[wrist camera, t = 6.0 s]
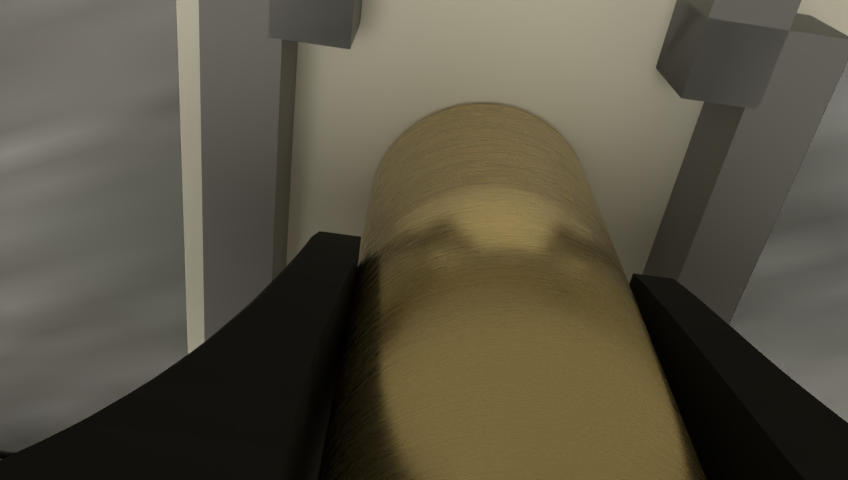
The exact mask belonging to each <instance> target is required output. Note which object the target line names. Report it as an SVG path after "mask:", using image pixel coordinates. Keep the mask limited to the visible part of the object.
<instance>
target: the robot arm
mask: <svg viewBox="0 0 848 480" xmlns="http://www.w3.org/2000/svg"><path fill="white" fill-rule="evenodd" d="M360 243H361V237H360V236H352V235H345V234H337V233H330V232H323V231H319V232H318V233H316V234H315V235H313V236H312V237H311V238H310V239H309V241H308V242H307V243H306V245H305V246H304V247H303V248H302V249H301V251H300V252H299V253H298V254H297V255H296V256H295V258H294V259H293V260H292V261H291V262H290V263H289V264H288V265H287V266H286V267H285V269H284V270H283V271H282V272H281V273H280V274H279V275H278V276H277V277H276V278H275V279H274V280H273V281H272V282H271V283H270V284H269V285H268V286H267V287H266V288H265V289H264V290H263V291H262V292H261V293H260V294H259V295H258V296H257V297H256V298H255V299H254V300H253V301H252V302H251V303H249V304H248V305H247V306H246V307H245V308H244V309H243V310H242V311H241V312H239V313H238V314H237V315H236V316H235V317H234V318H232V319H231V320H230V321H229V322H228V323H226V324H225V325H224V326H223V327H222V328H221V329H219V330H218V331H217V332H216V333H215V334H214V335H212V336H211V337H210V338H209V339H207V340H206V341H205V342H204V343H202V344H201V345H200V346H198V347H197V348H196V349H195V350H193V351H192V352H191V353H189V354H188V355H187V356H185V357H184V358H182V359H181V360H180V361H178V362H177V363H175V364H174V365H172V366H171V367H170V368H168V369H167V370H165V371H164V372H162V373H161V374H160V375H158V376H157V377H155V378H154V379H152V380H151V381H149V382H147V383H146V384H144V385H142V386H141V387H139V388H138V389H136V390H134V391H133V392H131V393H129V394H128V395H126V396H124V397H123V398H121V399H119V400H117V401H116V402H114V403H112V404H111V405H109V406H107V407H105V408H104V409H102V410H100V411H99V412H97V413H95V414H93V415H92V416H90V417H88V418H86V419H84V420H82V421H81V422H79V423H77V424H75V425H73V426H71V427H69V428H67V429H65V430H63V431H61V432H59V433H57V434H55V435H53V436H51V437H49V438H47V439H45V440H43V441H41V442H38V443H36V444H34V445H32V446H30V447H28V448H26V449H23V450H21V451H19V452H17V453H15V454H13V455H11V456H8V457H6V458H4V459H0V480H318V474H319V469H320V464H321V458H322V453H323V447H324V442H325V437H326V431H327V426H328V420H329V415H330V410H331V404H332V399H333V394H334V388H335V383H336V377H337V372H338V367H339V361H340V356H341V350H342V345H343V340H344V334H345V329H346V324H347V320H348V315H349V311H350V307H351V301H352V296H353V290H354V285H355V280H356V274H357V269H358V261H359V252H360ZM629 285H630V288H631V290H632V293H633V295H634V298H635V300H636V303H637V305H638V308H639V310H640V313H641V315H642V318H643V321H644V323H645V326H646V328H647V331H648V333H649V336H650V338H651V341H652V343H653V346H654V348H655V351H656V353H657V356H658V358H659V361H660V363H661V366H662V368H663V371H664V374H665V376H666V379H667V381H668V384H669V386H670V389H671V391H672V394H673V396H674V399H675V401H676V404H677V406H678V409H679V411H680V414H681V416H682V419H683V421H684V424H685V426H686V429H687V432H688V434H689V437H690V439H691V442H692V444H693V447H694V449H695V452H696V454H697V457H698V459H699V462H700V464H701V467H702V469H703V472H704V474H705V477H706V479H707V480H848V423H847V422H846V421H844V420H843V419H842V418H841V417H839V416H838V415H837V414H835V413H834V412H833V411H832V410H830V409H829V408H828V407H826V406H825V405H824V404H823V403H821V402H820V401H819V400H817V399H816V398H815V397H814V396H812V395H811V394H810V393H809V392H807V391H806V390H805V389H803V388H802V387H801V386H800V385H799V384H797V383H796V382H795V381H794V380H792V379H791V378H790V377H789V376H788V375H786V374H785V373H784V372H783V371H782V370H780V369H779V368H778V367H777V366H776V365H774V364H773V363H772V362H771V361H770V360H769V359H767V358H766V357H765V356H764V355H763V354H762V353H760V352H759V351H758V350H757V349H756V348H755V347H753V346H752V345H751V344H750V343H749V342H748V341H747V340H745V339H744V338H743V337H742V336H741V335H740V334H739V333H737V332H736V331H735V330H734V329H733V328H732V327H731V326H730V325H728V324H727V323H726V322H725V321H724V320H723V319H722V318H720V317H719V316H718V315H717V314H716V313H715V312H714V311H712V310H711V309H710V308H709V307H708V306H707V305H706V304H704V303H703V302H702V301H701V300H700V299H699V298H697V297H696V296H695V295H694V294H693V293H691V292H690V291H689V290H688V289H686V288H685V287H684V286H683V285H681V284H680V283H678V282H677V281H676V280H674V279H672V278H664V277H657V276H650V275H642V274H635V273H633V275H632V278H631V281H630V283H629Z"/></svg>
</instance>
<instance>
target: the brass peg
mask: <svg viewBox="0 0 848 480" xmlns="http://www.w3.org/2000/svg"><path fill="white" fill-rule="evenodd" d="M318 480H707V479H706V477H705V474H704V472H703V469H702V467H701V464H700V462H699V459H698V457H697V454H696V452H695V449H694V447H693V444H692V442H691V439H690V437H689V434H688V432H687V429H686V426H685V424H684V421H683V419H682V416H681V414H680V411H679V409H678V406H677V404H676V401H675V399H674V396H673V394H672V391H671V389H670V386H669V384H668V381H667V379H666V376H665V374H664V371H663V368H662V366H661V363H660V361H659V358H658V356H657V353H656V351H655V348H654V346H653V343H652V341H651V338H650V336H649V333H648V331H647V328H646V326H645V323H644V321H643V318H642V315H641V313H640V310H639V308H638V305H637V303H636V300H635V298H634V295H633V293H632V290H631V288H630V285H629V283H628V280H627V278H626V275H625V273H624V270H623V268H622V265H621V262H620V260H619V257H618V255H617V252H616V250H615V247H614V245H613V242H612V240H611V237H610V235H609V232H608V230H607V227H606V225H605V222H604V220H603V217H602V215H601V212H600V209H599V207H598V204H597V202H596V199H595V197H594V194H593V192H592V189H591V187H590V184H589V182H588V179H587V177H586V174H585V172H584V169H583V167H582V165H581V162H580V160H579V158H578V156H577V154H576V153H575V151H574V150H573V148H572V147H571V145H570V144H569V143H568V142H567V140H566V139H565V138H564V137H563V136H562V135H561V134H560V133H559V132H558V131H557V130H556V129H554V128H553V127H552V126H551V125H549V124H548V123H546V122H545V121H543V120H542V119H540V118H538V117H536V116H534V115H532V114H530V113H528V112H525V111H522V110H519V109H516V108H513V107H508V106H503V105H497V104H468V105H461V106H456V107H452V108H448V109H445V110H442V111H439V112H436V113H434V114H432V115H430V116H428V117H426V118H424V119H422V120H420V121H419V122H417V123H416V124H414V125H413V126H411V127H410V128H409V129H407V130H406V131H405V132H404V133H403V134H402V135H400V136H399V137H398V138H397V140H396V141H395V142H394V143H393V144H392V145H391V146H390V148H389V149H388V151H387V152H386V154H385V155H384V157H383V158H382V160H381V162H380V164H379V166H378V168H377V170H376V174H375V177H374V180H373V183H372V189H371V194H370V200H369V205H368V210H367V216H366V221H365V227H364V232H363V237H362V243H361V248H360V253H359V261H358V269H357V274H356V280H355V285H354V290H353V296H352V301H351V307H350V311H349V315H348V320H347V324H346V329H345V334H344V340H343V345H342V350H341V356H340V361H339V367H338V372H337V377H336V383H335V388H334V394H333V399H332V404H331V410H330V415H329V420H328V426H327V431H326V437H325V442H324V447H323V453H322V458H321V464H320V469H319V474H318Z"/></svg>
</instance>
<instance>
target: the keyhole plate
mask: <svg viewBox="0 0 848 480" xmlns="http://www.w3.org/2000/svg"><path fill="white" fill-rule="evenodd" d="M176 3H177V34H178V65H179V95H180V126H181V157H182V188H183V218H184V249H185V280H186V311H187V341H188V354H189V353H191V352H192V351H193V350H195V349H196V348H197V347H198V346H200V345H201V344H202V343H204V342H205V341H206V340H207V339H209V338H210V337H211V336H212V335H214V334H215V333H216V332H217V331H218V330H219V329H221V328H222V327H223V326H224V325H225V324H226V323H228V322H229V321H230V320H231V319H232V318H234V317H235V316H236V315H237V314H238V313H239V312H241V311H242V310H243V309H244V308H245V307H246V306H247V305H248V304H249V303H251V302H252V301H253V300H254V299H255V298H256V297H257V296H258V295H259V294H260V293H261V292H262V291H263V290H264V289H265V288H266V287H267V286H268V285H269V284H270V283H271V282H272V281H273V280H274V279H275V278H276V277H277V276H278V275H279V274H280V273H281V272H282V271H283V270H284V269H285V267H286V266H287V265H288V264H289V263H290V262H291V261H292V260H293V259H294V258H295V256H296V255H297V254H298V253H299V252H300V251H301V249H302V248H303V247H304V246H305V245H306V243H307V242H308V241H309V239H310V238H311V237H312V236H313V235H315V234H316V233H318V232H319V231H323V232H330V233H337V234H345V235H352V236H360V237H361V243H362V237H363V232H364V227H365V221H366V216H367V210H368V205H369V200H370V194H371V189H372V183H373V180H374V177H375V174H376V170H377V168H378V166H379V164H380V162H381V160H382V158H383V157H384V155H385V154H386V152H387V151H388V149H389V148H390V146H391V145H392V144H393V143H394V142H395V141H396V140H397V138H398V137H399V136H400V135H402V134H403V133H404V132H405V131H406V130H407V129H409V128H410V127H411V126H413V125H414V124H416V123H417V122H419V121H420V120H422V119H424V118H426V117H428V116H430V115H432V114H434V113H436V112H439V111H442V110H445V109H448V108H452V107H456V106H461V105H468V104H497V105H503V106H508V107H513V108H516V109H519V110H522V111H525V112H528V113H530V114H532V115H534V116H536V117H538V118H540V119H542V120H543V121H545V122H546V123H548V124H549V125H551V126H552V127H553V128H554V129H556V130H557V131H558V132H559V133H560V134H561V135H562V136H563V137H564V138H565V139H566V140H567V142H568V143H569V144H570V145H571V147H572V148H573V150H574V151H575V153H576V154H577V156H578V158H579V160H580V162H581V165H582V167H583V169H584V172H585V174H586V177H587V179H588V182H589V184H590V187H591V189H592V192H593V194H594V197H595V199H596V202H597V204H598V207H599V209H600V212H601V215H602V217H603V220H604V222H605V225H606V227H607V230H608V232H609V235H610V237H611V240H612V242H613V245H614V247H615V250H616V252H617V255H618V257H619V260H620V262H621V265H622V268H623V270H624V273H625V275H626V278H627V280H628V283H630V281H631V278H632V275H633V273H635V274H642V275H650V276H657V277H664V278H672V279H674V280H676V281H677V282H678V283H680V284H681V285H683V286H684V287H685V288H686V289H688V290H689V291H690V292H691V293H693V294H694V295H695V296H696V297H697V298H699V299H700V300H701V301H702V302H703V303H704V304H706V305H707V306H708V307H709V308H710V309H711V310H712V311H714V312H715V313H716V314H717V315H718V316H719V317H720V318H722V319H723V320H724V321H725V322H726V323H727V324H728V325H729V323H730V321H731V318H732V316H733V314H734V312H735V309H736V307H737V305H738V303H739V301H740V298H741V296H742V294H743V292H744V289H745V287H746V285H747V283H748V281H749V278H750V276H751V274H752V272H753V269H754V267H755V265H756V263H757V261H758V258H759V256H760V254H761V252H762V250H763V247H764V245H765V243H766V241H767V238H768V236H769V234H770V232H771V230H772V227H773V225H774V223H775V221H776V218H777V216H778V214H779V212H780V210H781V207H782V205H783V203H784V201H785V198H786V196H787V194H788V192H789V190H790V187H791V185H792V183H793V181H794V179H795V176H796V174H797V172H798V170H799V167H800V165H801V163H802V161H803V159H804V156H805V154H806V152H807V150H808V147H809V145H810V143H811V141H812V139H813V136H814V134H815V132H816V130H817V127H818V125H819V123H820V121H821V119H822V116H823V114H824V112H825V110H826V108H827V105H828V103H829V101H830V99H831V96H832V94H833V92H834V90H835V88H836V85H837V83H838V81H839V79H840V76H841V74H842V72H843V70H844V68H845V65H846V63H847V61H848V0H176ZM361 243H360V248H361ZM359 253H360V252H359Z"/></svg>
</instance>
